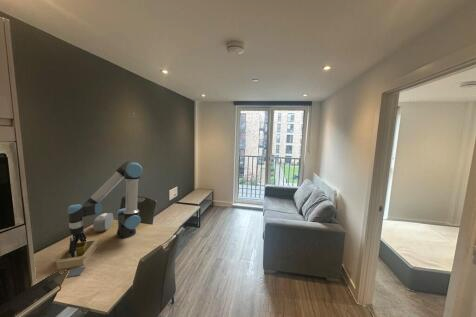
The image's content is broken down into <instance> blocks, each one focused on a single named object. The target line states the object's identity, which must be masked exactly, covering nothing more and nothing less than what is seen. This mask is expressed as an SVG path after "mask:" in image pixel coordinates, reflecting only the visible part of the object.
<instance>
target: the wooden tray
mask: <svg viewBox="0 0 476 317" xmlns="http://www.w3.org/2000/svg"><path fill="white" fill-rule="evenodd" d="M85 240H86V241H87V248H86V252H85V253H84V255H83V256H80V257H74V258H71V256H70V253H69V246H70V244H69V245H68V246H67V247H66V248H65V249H63V251H62V252H61V253H60V254H59V255H57V257H55V258H54V259H53V261H52V262H53V263H54V262H55V263H56V269H57V270H63V269H70V268H77V267H83V266H84V265H85V264H86V263H87V262H88V260H90V257H91V256H92V255H93V254H94V252H95V250H96V249H97V248H98V243H99V242H100V239H97V238H94V239H93V238H92V239H85ZM80 242H81V241H80V240H79V241H78V242H77V243H80Z"/></svg>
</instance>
